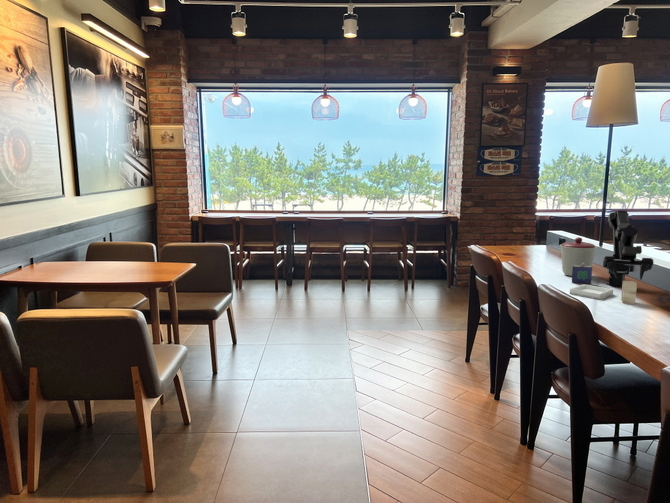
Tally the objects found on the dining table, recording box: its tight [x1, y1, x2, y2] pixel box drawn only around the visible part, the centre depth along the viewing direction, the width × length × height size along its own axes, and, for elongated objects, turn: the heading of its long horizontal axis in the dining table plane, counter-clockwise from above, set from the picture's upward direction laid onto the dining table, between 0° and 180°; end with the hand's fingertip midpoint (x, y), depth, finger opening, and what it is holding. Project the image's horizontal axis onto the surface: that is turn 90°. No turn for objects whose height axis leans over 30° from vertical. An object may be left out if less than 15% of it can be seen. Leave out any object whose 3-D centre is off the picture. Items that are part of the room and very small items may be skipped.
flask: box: [571, 263, 593, 285], centre depth 240 cm, size 9×3×11 cm, turn 78°
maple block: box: [620, 280, 638, 305], centre depth 205 cm, size 5×5×9 cm
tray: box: [569, 284, 614, 301], centre depth 219 cm, size 13×13×2 cm
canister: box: [559, 237, 598, 277], centre depth 258 cm, size 18×18×21 cm
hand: (628, 278), depth 207 cm, fingers open, 9 cm apart
